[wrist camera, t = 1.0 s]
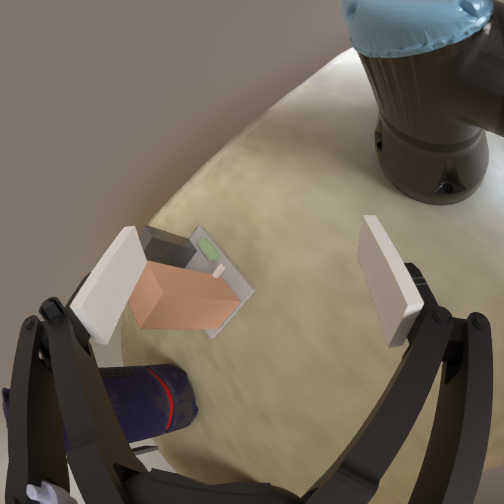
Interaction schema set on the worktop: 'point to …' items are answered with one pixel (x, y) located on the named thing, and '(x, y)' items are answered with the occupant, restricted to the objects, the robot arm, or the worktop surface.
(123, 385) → the navy red-striped canister
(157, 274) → the tall salmon pillar
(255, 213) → the worktop surface
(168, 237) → the dark grey rubber block
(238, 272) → the gauge base
